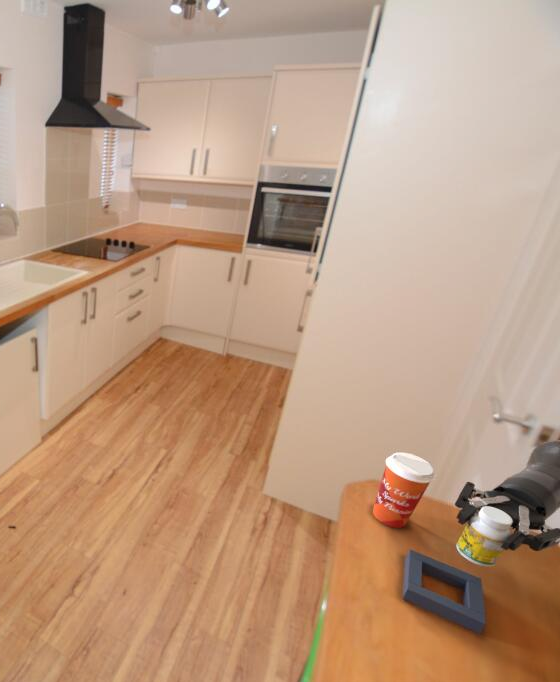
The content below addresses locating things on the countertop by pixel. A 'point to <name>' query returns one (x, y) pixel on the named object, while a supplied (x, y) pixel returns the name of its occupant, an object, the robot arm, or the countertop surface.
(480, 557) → the supplement bottle
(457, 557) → the countertop surface
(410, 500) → the paper cup
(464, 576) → the bottle holder
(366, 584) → the countertop surface
